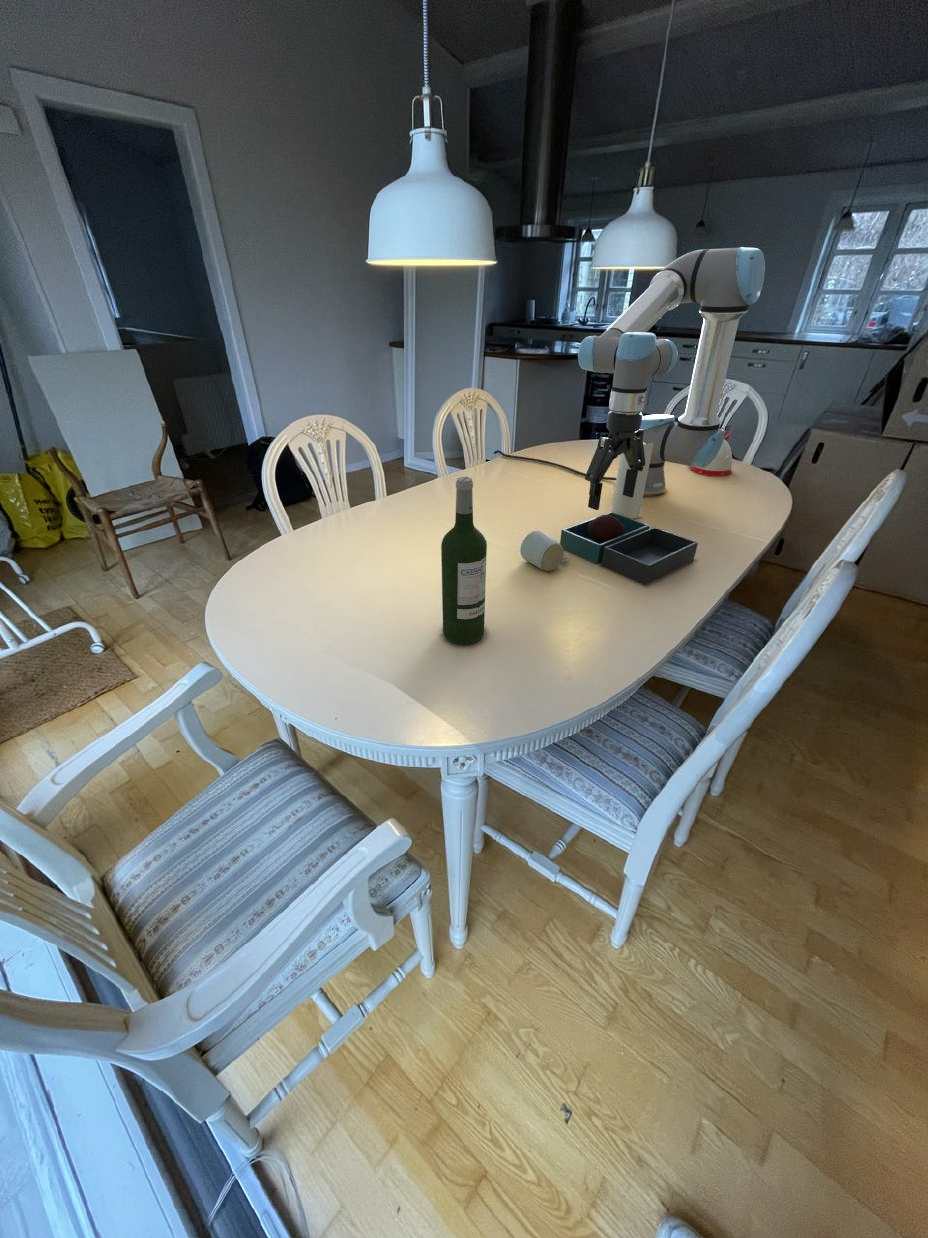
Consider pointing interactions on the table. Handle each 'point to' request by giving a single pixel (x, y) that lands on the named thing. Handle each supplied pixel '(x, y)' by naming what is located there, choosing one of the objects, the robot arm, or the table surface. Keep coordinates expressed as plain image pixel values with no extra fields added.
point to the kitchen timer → (718, 461)
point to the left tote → (586, 547)
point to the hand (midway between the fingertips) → (610, 502)
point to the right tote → (649, 555)
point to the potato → (605, 528)
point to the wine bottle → (463, 572)
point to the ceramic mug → (542, 551)
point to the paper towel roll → (633, 505)
